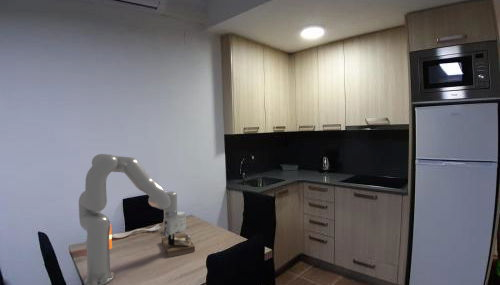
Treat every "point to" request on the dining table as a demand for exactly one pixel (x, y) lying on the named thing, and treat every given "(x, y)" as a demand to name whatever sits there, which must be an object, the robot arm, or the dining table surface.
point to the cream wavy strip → (121, 235)
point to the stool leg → (182, 241)
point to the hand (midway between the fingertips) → (171, 244)
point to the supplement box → (182, 221)
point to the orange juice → (110, 238)
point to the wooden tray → (177, 246)
